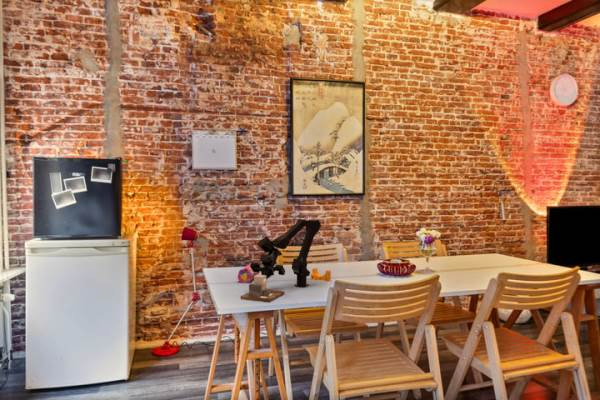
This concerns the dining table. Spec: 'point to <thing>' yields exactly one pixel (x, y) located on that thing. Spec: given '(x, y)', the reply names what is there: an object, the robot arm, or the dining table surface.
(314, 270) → the pipe clamp
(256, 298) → the gauge base
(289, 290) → the dining table surface
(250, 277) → the pencil case
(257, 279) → the block
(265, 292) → the reading marker
